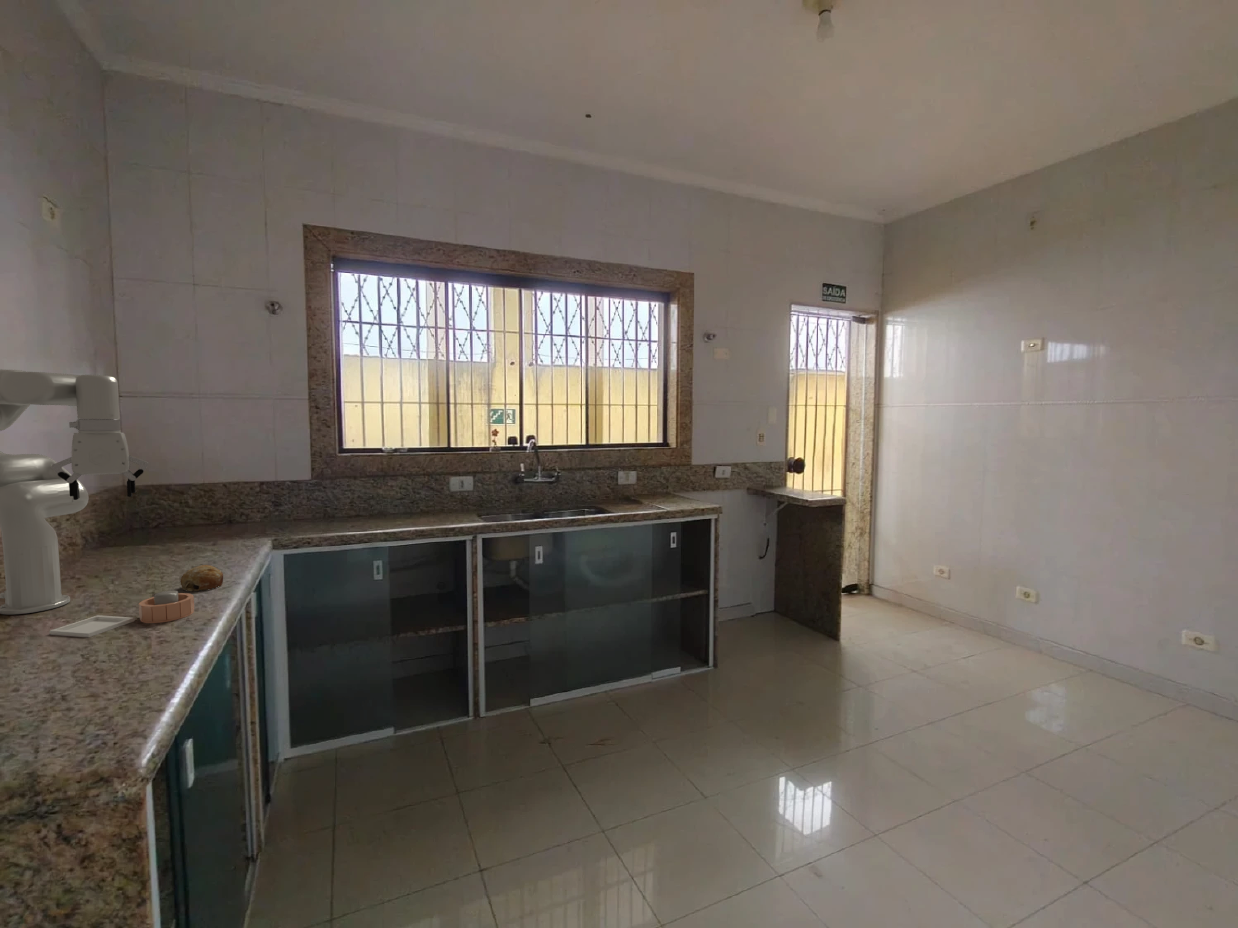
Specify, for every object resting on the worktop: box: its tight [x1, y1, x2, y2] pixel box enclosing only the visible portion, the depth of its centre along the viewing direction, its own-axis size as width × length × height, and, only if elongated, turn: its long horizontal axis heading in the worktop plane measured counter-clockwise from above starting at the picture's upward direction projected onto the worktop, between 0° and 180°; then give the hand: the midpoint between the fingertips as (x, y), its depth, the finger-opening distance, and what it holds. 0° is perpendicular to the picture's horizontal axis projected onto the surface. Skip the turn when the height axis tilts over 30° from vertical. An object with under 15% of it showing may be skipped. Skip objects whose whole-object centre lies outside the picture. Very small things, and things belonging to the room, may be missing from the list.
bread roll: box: [180, 564, 224, 592], centre depth 160 cm, size 10×10×8 cm
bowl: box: [138, 592, 195, 624], centre depth 136 cm, size 10×10×4 cm
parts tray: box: [49, 614, 136, 638], centre depth 128 cm, size 10×10×1 cm
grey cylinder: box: [153, 590, 179, 605], centre depth 135 cm, size 4×4×5 cm
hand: (103, 497), depth 137 cm, fingers open, 9 cm apart
